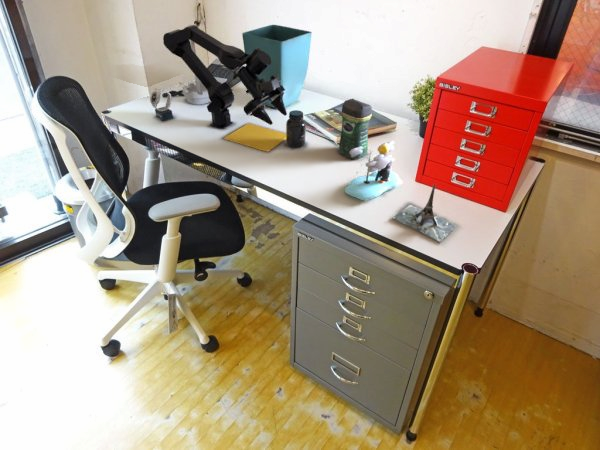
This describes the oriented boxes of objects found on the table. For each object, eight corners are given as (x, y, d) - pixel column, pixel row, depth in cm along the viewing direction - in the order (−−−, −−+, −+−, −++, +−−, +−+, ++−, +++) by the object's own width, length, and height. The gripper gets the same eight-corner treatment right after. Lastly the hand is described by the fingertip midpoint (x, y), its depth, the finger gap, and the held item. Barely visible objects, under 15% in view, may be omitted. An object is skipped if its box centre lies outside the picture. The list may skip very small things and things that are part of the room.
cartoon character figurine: (384, 171, 143) (390, 128, 134) (408, 185, 136) (417, 141, 127) (337, 190, 134) (340, 145, 124) (360, 206, 127) (366, 160, 118)
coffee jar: (370, 154, 152) (377, 103, 141) (355, 162, 148) (360, 109, 136) (350, 145, 157) (354, 94, 146) (334, 151, 153) (338, 100, 142)
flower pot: (274, 90, 199) (273, 23, 182) (310, 100, 190) (312, 31, 173) (245, 103, 186) (240, 32, 169) (282, 115, 177) (281, 41, 160)
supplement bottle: (306, 148, 155) (307, 116, 147) (286, 149, 154) (286, 117, 147) (304, 140, 160) (304, 108, 153) (285, 140, 159) (285, 109, 152)
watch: (151, 118, 173) (146, 90, 166) (170, 112, 178) (165, 85, 171) (158, 122, 170) (153, 94, 163) (177, 117, 174) (172, 89, 168)
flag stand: (182, 95, 193) (171, 21, 174) (212, 92, 196) (204, 20, 178) (185, 106, 183) (174, 30, 165) (217, 103, 186) (209, 28, 168)
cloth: (224, 138, 160) (224, 137, 160) (248, 124, 170) (248, 123, 170) (267, 152, 152) (267, 151, 152) (290, 135, 163) (290, 134, 162)
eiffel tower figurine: (390, 219, 122) (398, 178, 114) (409, 204, 128) (418, 164, 120) (440, 243, 114) (451, 200, 106) (457, 226, 120) (469, 184, 112)
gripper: (249, 76, 140) (278, 117, 143) (280, 61, 153) (306, 99, 156) (231, 95, 148) (259, 133, 151) (262, 79, 161) (287, 115, 164)
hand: (279, 119), depth 155 cm, fingers open, 9 cm apart
